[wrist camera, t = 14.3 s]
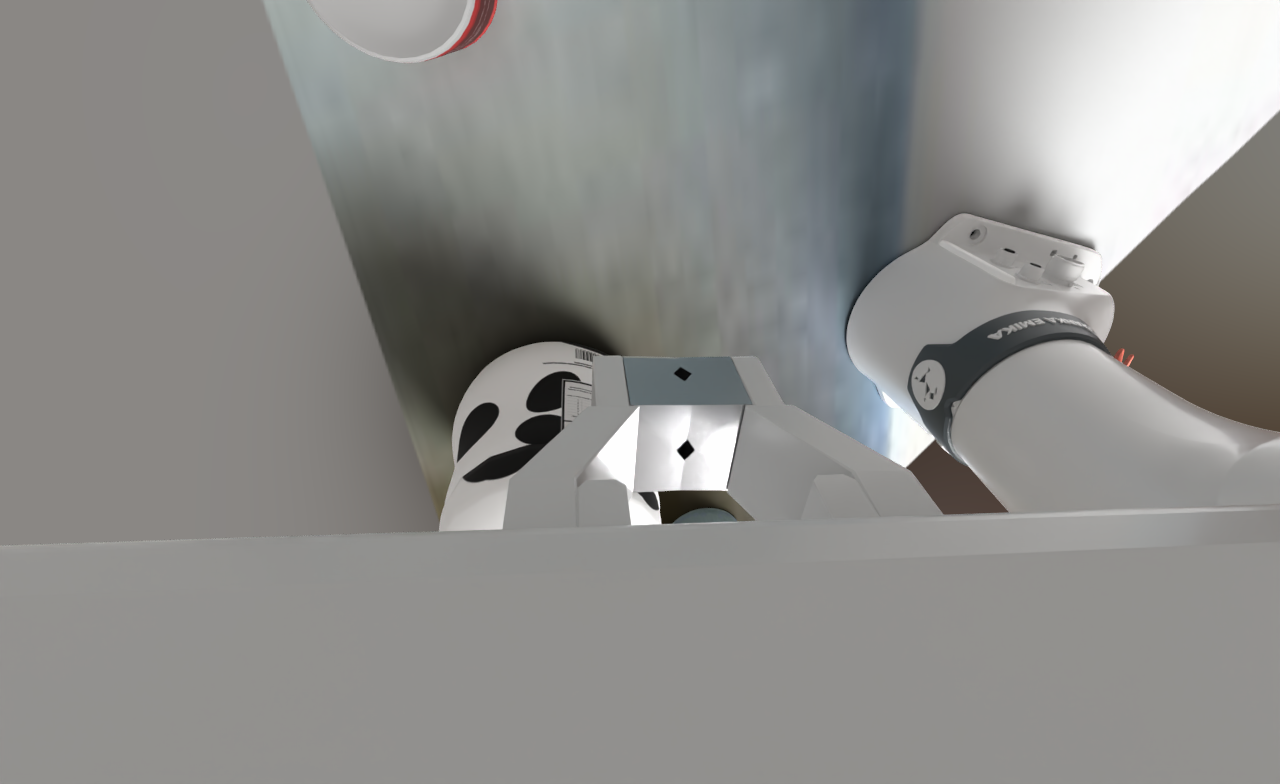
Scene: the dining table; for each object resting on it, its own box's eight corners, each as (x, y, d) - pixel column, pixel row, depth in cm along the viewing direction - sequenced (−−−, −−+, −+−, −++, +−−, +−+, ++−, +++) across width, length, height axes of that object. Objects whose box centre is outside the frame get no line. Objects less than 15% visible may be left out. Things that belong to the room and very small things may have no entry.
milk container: (498, 491, 57) (473, 658, 42) (432, 349, 47) (368, 502, 32) (663, 456, 57) (695, 613, 42) (630, 306, 47) (658, 441, 32)
